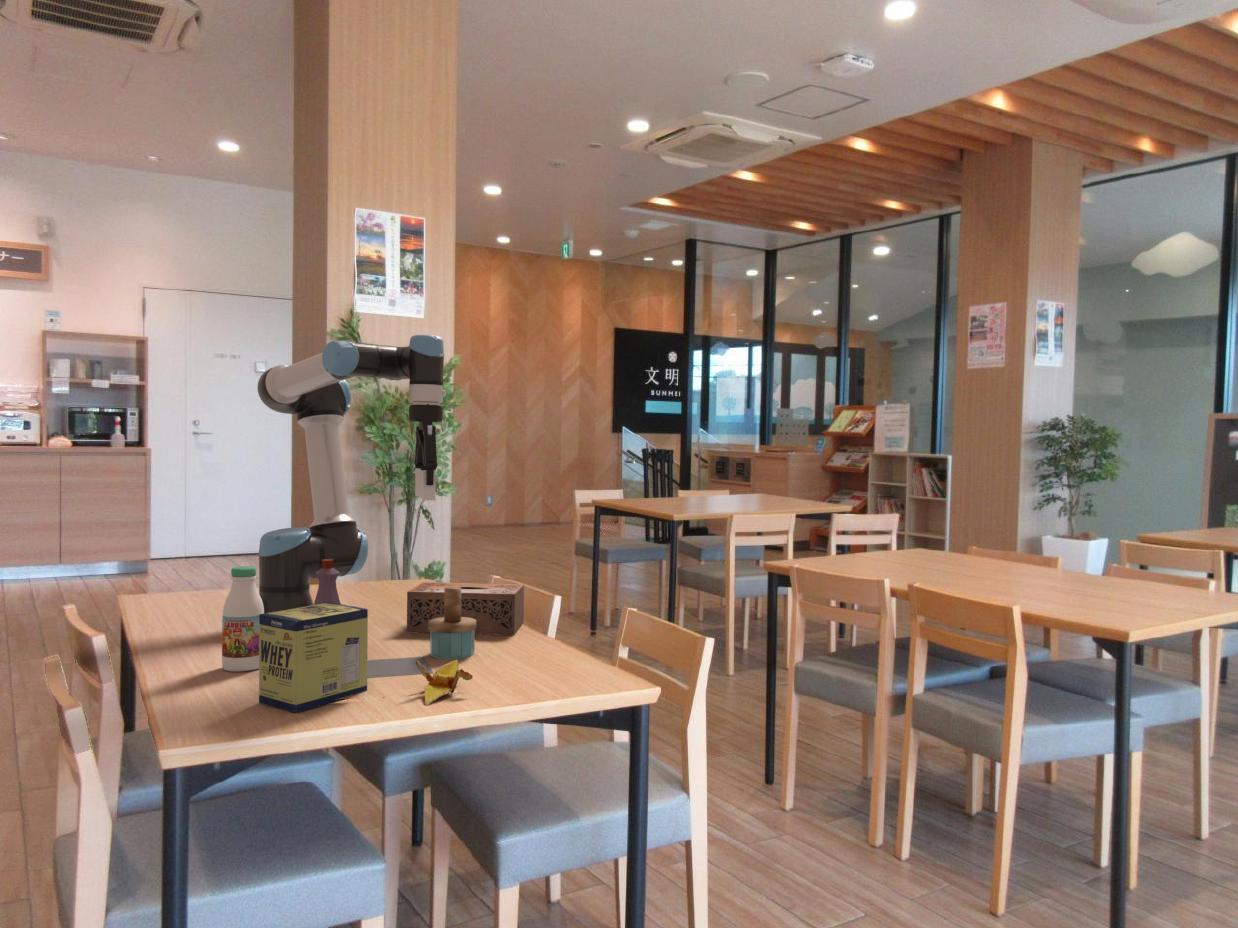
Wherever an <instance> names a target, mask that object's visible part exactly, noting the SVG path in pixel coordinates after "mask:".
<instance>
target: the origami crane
mask: <svg viewBox="0 0 1238 928" xmlns="http://www.w3.org/2000/svg"><path fill="white" fill-rule="evenodd" d="M416 665H417V667H418V668H419V669H420V671H421V673H422V674H421V675H422V677H424V679H426V681H427V682H428V684H427V685H425V686H424V706H425V707H427V706H429V705H430V704H431V703H432V702H436V700H437V699H439V698H441V697H442V696H444V695H446V694H447V693H453V692H454V690H455V689H456V688H457V684H458V681H459V679H460V678H462V680H465V681H470V680H472V679H473V674H470V673H469V672H468V671H464V669H462V668H459V667H460V666H459V661H458V659H453V661H449V662H447V663H445V664H444V665H441V666H440V667H439V668H438V669H436V671H434V672H433V673H432V675H431V674H429V673H428V672H427V671H425V670H426V669H425V668H426V667H424V666H422V665H421V664H420V662H418V661H416ZM423 665H424V664H423Z"/></svg>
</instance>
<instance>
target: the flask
mask: <svg viewBox="0 0 1238 928" xmlns="http://www.w3.org/2000/svg"><path fill="white" fill-rule="evenodd" d="M338 575H339V572H338V571H337V570H336V569H334V568H333V559H324V560H322V568H321V569H320V570H319V571H317V572H316V576H317V578H316V579H317V580H318V589H317V592H316V595H315V600H314V601H313V604H314V605H317V604H323V603H329V602H332V603H337V604H342V603H341V600H340V597H339V592H338V589H337V578H338V577H339V576H338Z"/></svg>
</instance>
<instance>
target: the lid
mask: <svg viewBox="0 0 1238 928" xmlns="http://www.w3.org/2000/svg"><path fill="white" fill-rule="evenodd" d="M428 629H429V630H430V631H432V632H437V633H463V632H469V631H473V630H475V629H476V620H475V619H473V618H468V617H461V588H460V587H447V588H444V617H441V618H435V619H432V620H429V622H428Z"/></svg>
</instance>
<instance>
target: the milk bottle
mask: <svg viewBox="0 0 1238 928" xmlns="http://www.w3.org/2000/svg"><path fill="white" fill-rule="evenodd" d="M230 572H231V575H230V576H231V577H230V579H231V580H232V582H231V588H230V591H229V592H228V595H227V597H226V599H225V602H224V604H223V609H222V619H221V620H222V629H221V633H222V635H221V667H222V669H223V670H224V671H225V672H232V673H233V672H249V671H255V670H259V615H260V614H264V606H263V602H262V599H261V597H260V595H259V591H258V588H257V585H256V579H257V568H256V566H246V565H245V566H244V565H243V566H234V567H232V568H231V571H230Z"/></svg>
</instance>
